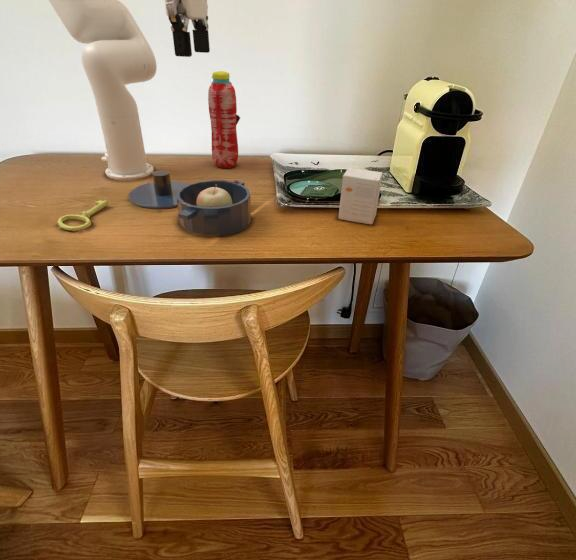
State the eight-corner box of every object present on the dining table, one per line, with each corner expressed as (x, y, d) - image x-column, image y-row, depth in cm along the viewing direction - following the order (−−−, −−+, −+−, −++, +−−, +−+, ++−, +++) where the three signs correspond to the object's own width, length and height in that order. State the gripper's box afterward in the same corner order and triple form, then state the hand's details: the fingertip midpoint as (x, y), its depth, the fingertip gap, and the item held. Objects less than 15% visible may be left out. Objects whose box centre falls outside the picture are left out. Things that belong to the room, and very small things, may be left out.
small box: (376, 215, 93) (383, 172, 87) (372, 225, 89) (380, 180, 83) (342, 209, 95) (348, 166, 89) (337, 219, 91) (342, 174, 85)
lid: (114, 201, 94) (108, 176, 91) (161, 180, 106) (157, 157, 103) (168, 217, 88) (164, 191, 85) (211, 193, 101) (209, 169, 97)
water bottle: (222, 156, 125) (216, 67, 111) (246, 159, 123) (244, 69, 109) (206, 168, 115) (199, 72, 101) (233, 172, 114) (228, 74, 99)
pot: (156, 231, 83) (151, 202, 79) (214, 197, 98) (212, 172, 95) (217, 249, 78) (215, 220, 74) (268, 211, 93) (268, 185, 89)
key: (111, 207, 91) (109, 199, 90) (86, 232, 81) (83, 223, 80) (80, 205, 92) (78, 197, 90) (51, 230, 81) (48, 221, 80)
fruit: (228, 210, 92) (226, 176, 87) (236, 223, 86) (234, 189, 82) (195, 213, 90) (192, 179, 85) (201, 228, 84) (197, 192, 79)
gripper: (182, -51, 77) (192, 50, 87) (138, -65, 63) (156, 57, 73) (219, -51, 76) (224, 51, 86) (183, -65, 62) (194, 59, 72)
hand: (193, 54), depth 80 cm, fingers open, 9 cm apart
